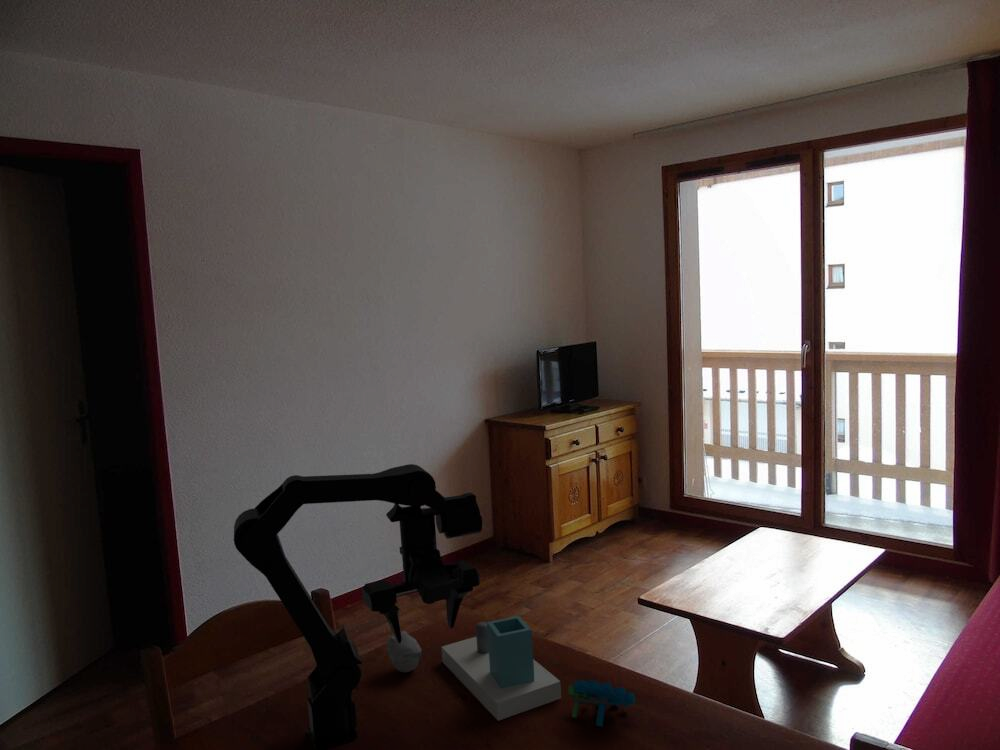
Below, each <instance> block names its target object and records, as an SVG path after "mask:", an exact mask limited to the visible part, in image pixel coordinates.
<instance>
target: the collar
mask: <svg viewBox="0 0 1000 750" xmlns="http://www.w3.org/2000/svg"><path fill="white" fill-rule="evenodd" d="M486 622H487V630H488V646H489V662H490V672H491V674H492V676H493V677H494V679H495V680H496V682H497V683H498V685H499V687H500V688H506V687H510V686H514V685H519V684H523V683H527V682H532V681H535V680H534V662H533V659H534V648H533V647H534V646H533V632H532V631H533V630H532V628H531V627H530V626H529V625H528V623H527V622H526V621H525V620H524V619H523V618H522V617H521V616H520V615H515V616H510V617H507V618H500V619H497V620H490V621H486Z"/></svg>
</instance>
